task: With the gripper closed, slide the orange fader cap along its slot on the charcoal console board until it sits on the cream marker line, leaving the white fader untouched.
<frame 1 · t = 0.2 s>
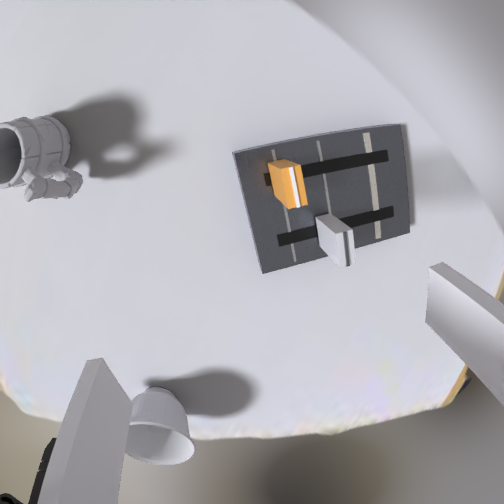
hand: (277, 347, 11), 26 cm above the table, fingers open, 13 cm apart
fader orange: (286, 181, 29), point 6 cm above the table, slide at 0.0 cm
console: (327, 191, 36), on the table
teacup: (150, 394, 45), on the table
fader white: (335, 239, 32), point 6 cm above the table, slide at 0.0 cm
mug: (58, 156, 30), on the table
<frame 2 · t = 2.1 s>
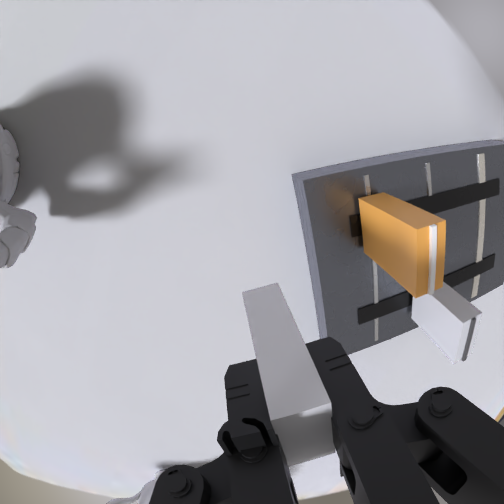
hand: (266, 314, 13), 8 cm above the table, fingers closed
fader orange: (400, 239, 15), point 6 cm above the table, slide at 0.0 cm
console: (421, 235, 22), on the table
teacup: (165, 474, 31), on the table
fader white: (444, 316, 18), point 6 cm above the table, slide at 0.0 cm
mug: (4, 181, 17), on the table
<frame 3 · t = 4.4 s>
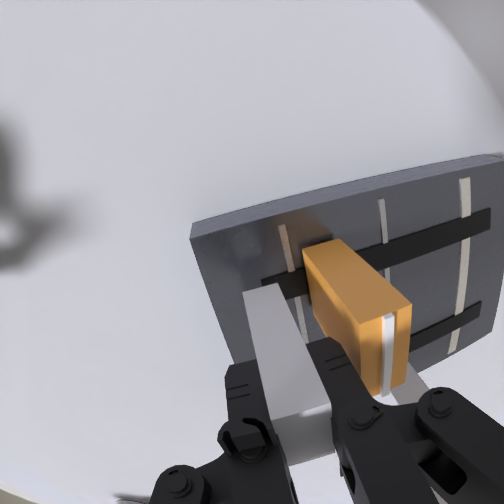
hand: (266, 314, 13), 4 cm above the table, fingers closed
fader orange: (352, 312, 11), point 6 cm above the table, slide at 1.5 cm, touching gripper
console: (382, 285, 18), on the table
teacup: (125, 503, 27), on the table
fader white: (397, 397, 14), point 6 cm above the table, slide at 0.0 cm
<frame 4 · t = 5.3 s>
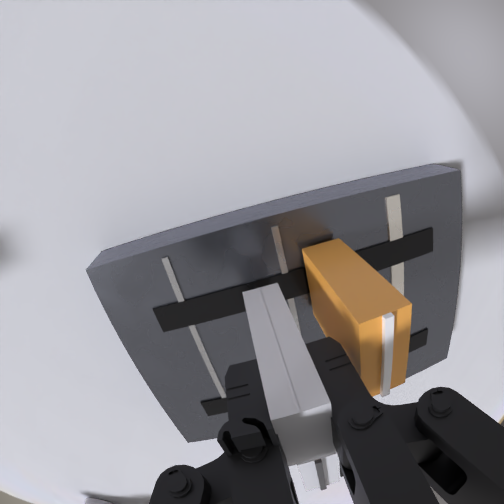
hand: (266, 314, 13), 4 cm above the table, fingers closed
fader orange: (352, 312, 11), point 6 cm above the table, slide at 6.8 cm, touching gripper
console: (304, 310, 18), on the table
teacup: (94, 501, 27), on the table
fader white: (306, 431, 14), point 6 cm above the table, slide at 0.0 cm
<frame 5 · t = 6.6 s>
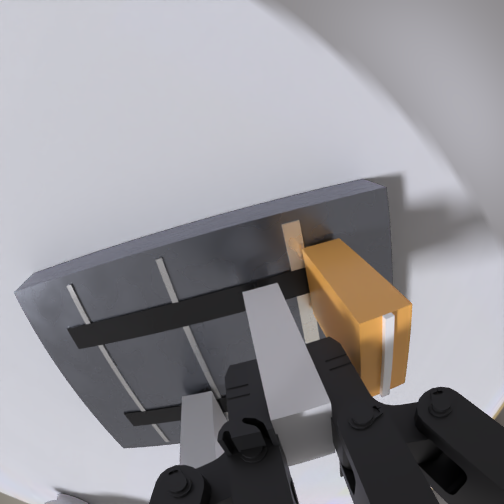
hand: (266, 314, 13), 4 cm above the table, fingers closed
fader orange: (352, 312, 11), point 6 cm above the table, slide at 12.1 cm, touching gripper
console: (219, 334, 18), on the table
teacup: (66, 497, 27), on the table
fader white: (208, 452, 14), point 6 cm above the table, slide at 0.0 cm
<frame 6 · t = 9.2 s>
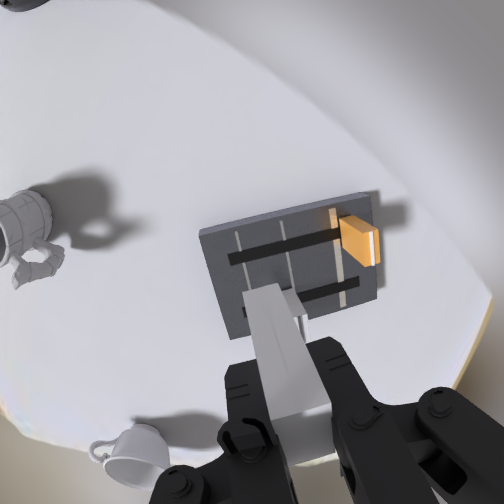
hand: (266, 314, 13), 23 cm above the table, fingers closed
fader orange: (359, 239, 32), point 6 cm above the table, slide at 12.5 cm
console: (293, 263, 38), on the table
teacup: (137, 429, 46), on the table
fader white: (294, 316, 34), point 6 cm above the table, slide at 0.0 cm
mug: (42, 226, 33), on the table
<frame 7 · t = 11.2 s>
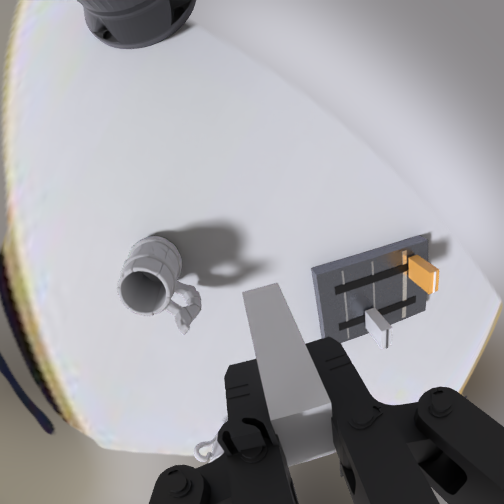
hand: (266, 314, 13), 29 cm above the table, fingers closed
fader orange: (423, 274, 42), point 6 cm above the table, slide at 12.5 cm
console: (372, 288, 49), on the table
teacup: (227, 427, 57), on the table
fader white: (378, 328, 44), point 6 cm above the table, slide at 0.0 cm
mug: (168, 267, 43), on the table
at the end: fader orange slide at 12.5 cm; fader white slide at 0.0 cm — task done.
